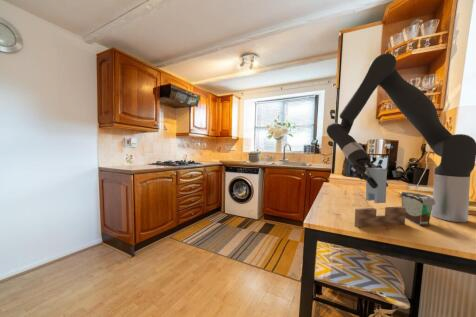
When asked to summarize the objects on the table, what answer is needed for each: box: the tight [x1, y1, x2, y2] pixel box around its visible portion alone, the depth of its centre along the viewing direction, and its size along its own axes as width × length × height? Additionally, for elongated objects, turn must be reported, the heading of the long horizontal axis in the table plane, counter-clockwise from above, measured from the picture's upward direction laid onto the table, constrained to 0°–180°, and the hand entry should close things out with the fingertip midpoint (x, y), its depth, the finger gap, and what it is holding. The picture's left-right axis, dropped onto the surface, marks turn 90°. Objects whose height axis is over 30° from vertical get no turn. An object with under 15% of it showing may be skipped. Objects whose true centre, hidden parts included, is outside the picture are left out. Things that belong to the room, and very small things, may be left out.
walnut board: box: [354, 205, 406, 228], centre depth 65 cm, size 20×1×6 cm, turn 101°
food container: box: [400, 191, 435, 227], centre depth 68 cm, size 12×6×10 cm, turn 168°
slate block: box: [365, 167, 388, 204], centre depth 71 cm, size 4×5×13 cm
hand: (380, 186), depth 69 cm, fingers closed on slate block, 4 cm apart
